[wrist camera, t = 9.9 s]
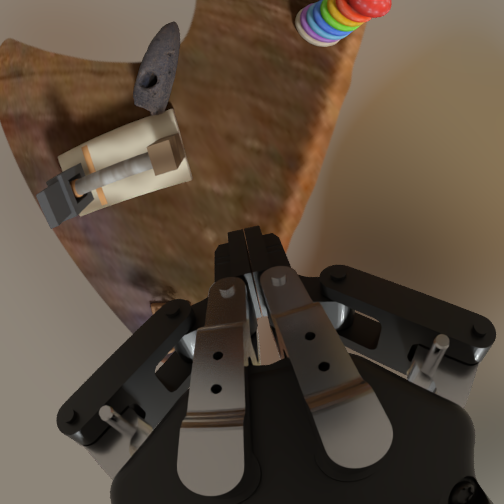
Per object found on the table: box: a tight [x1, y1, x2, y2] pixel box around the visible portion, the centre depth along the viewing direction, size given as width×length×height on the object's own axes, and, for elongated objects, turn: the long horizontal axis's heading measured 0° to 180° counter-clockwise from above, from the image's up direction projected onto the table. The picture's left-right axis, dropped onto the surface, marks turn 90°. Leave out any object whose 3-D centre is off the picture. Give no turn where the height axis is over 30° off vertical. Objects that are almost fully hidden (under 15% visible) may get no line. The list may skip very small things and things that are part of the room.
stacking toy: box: [295, 0, 391, 47], centre depth 22 cm, size 8×8×19 cm
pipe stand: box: [58, 109, 192, 217], centre depth 35 cm, size 12×22×10 cm, turn 101°
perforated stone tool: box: [133, 22, 180, 116], centre depth 29 cm, size 15×5×7 cm, turn 164°
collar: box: [36, 163, 94, 229], centre depth 31 cm, size 6×3×10 cm, turn 11°
